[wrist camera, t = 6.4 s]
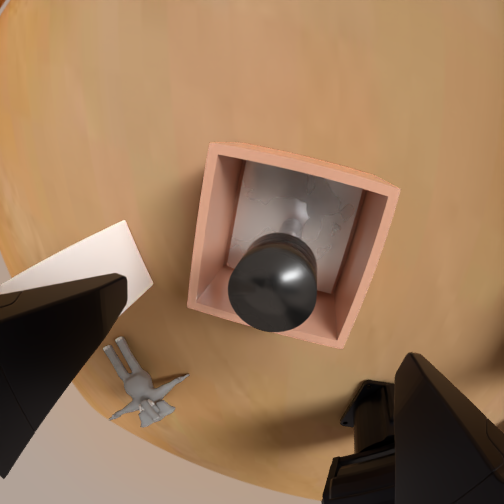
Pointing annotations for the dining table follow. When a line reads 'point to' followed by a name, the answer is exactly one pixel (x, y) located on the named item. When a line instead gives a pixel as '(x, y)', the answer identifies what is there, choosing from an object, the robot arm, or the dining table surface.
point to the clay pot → (222, 223)
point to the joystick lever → (287, 244)
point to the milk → (90, 264)
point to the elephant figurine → (140, 387)
